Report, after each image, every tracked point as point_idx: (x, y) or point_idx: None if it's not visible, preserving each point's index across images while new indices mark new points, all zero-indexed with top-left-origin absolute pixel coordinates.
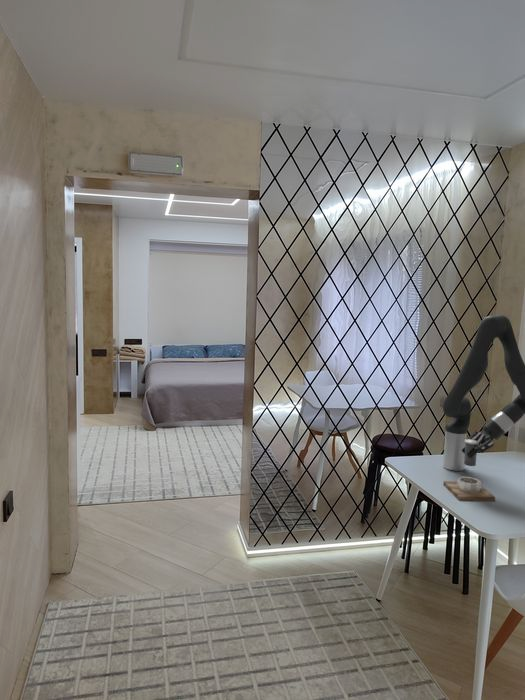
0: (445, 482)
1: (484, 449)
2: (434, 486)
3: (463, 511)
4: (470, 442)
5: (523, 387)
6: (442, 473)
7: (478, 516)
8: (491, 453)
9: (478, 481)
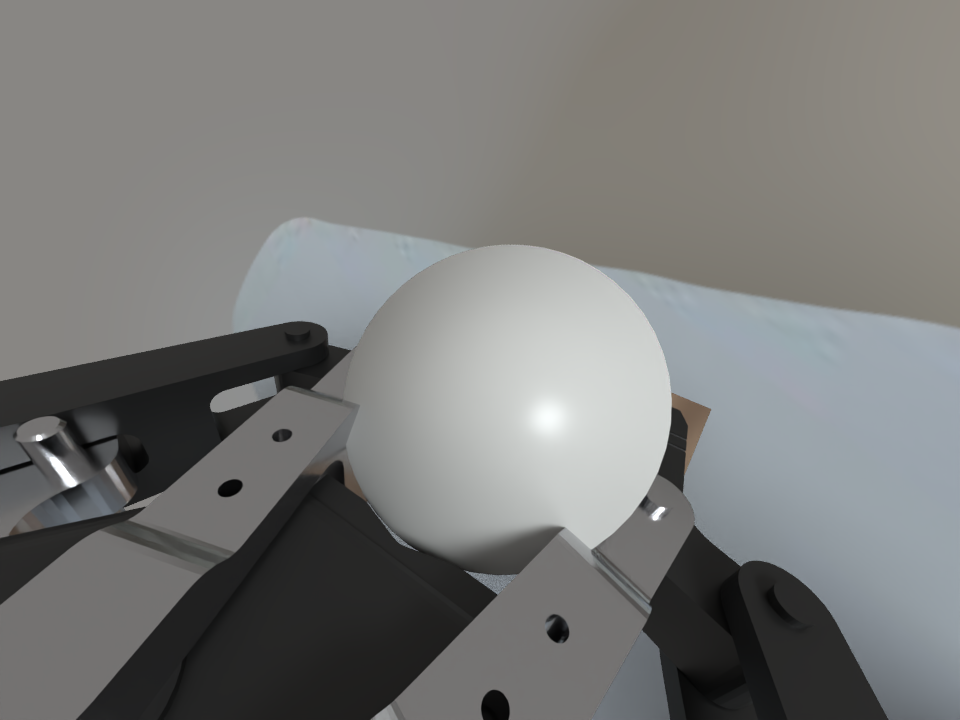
0: (685, 401)
1: (248, 415)
2: (699, 348)
3: (411, 264)
4: (430, 281)
5: None
6: (954, 619)
7: (357, 283)
8: None
9: None
